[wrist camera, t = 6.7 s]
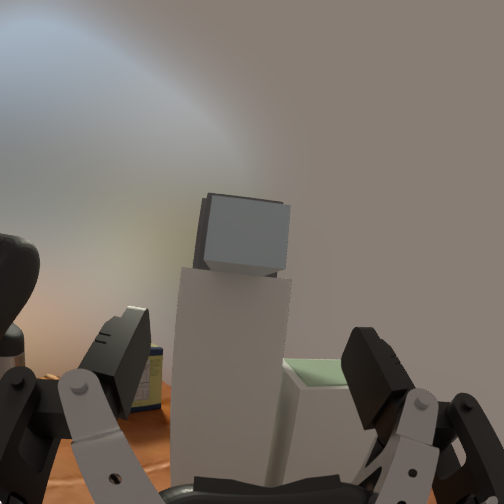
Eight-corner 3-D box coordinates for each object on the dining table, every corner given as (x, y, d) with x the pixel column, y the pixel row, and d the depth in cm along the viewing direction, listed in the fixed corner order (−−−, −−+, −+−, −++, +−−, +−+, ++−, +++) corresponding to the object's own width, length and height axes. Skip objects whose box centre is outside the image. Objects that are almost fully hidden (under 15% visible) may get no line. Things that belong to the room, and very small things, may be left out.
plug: (306, 271, 15) (312, 159, 16) (181, 257, 15) (200, 143, 16) (261, 281, 34) (266, 226, 35) (205, 274, 34) (212, 219, 35)
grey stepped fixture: (351, 523, 21) (411, 207, 27) (173, 529, 19) (196, 170, 25) (323, 477, 34) (360, 230, 39) (183, 475, 32) (205, 209, 38)
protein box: (132, 386, 66) (134, 333, 69) (162, 408, 57) (164, 348, 59) (98, 388, 59) (99, 332, 61) (123, 414, 49) (123, 349, 51)
